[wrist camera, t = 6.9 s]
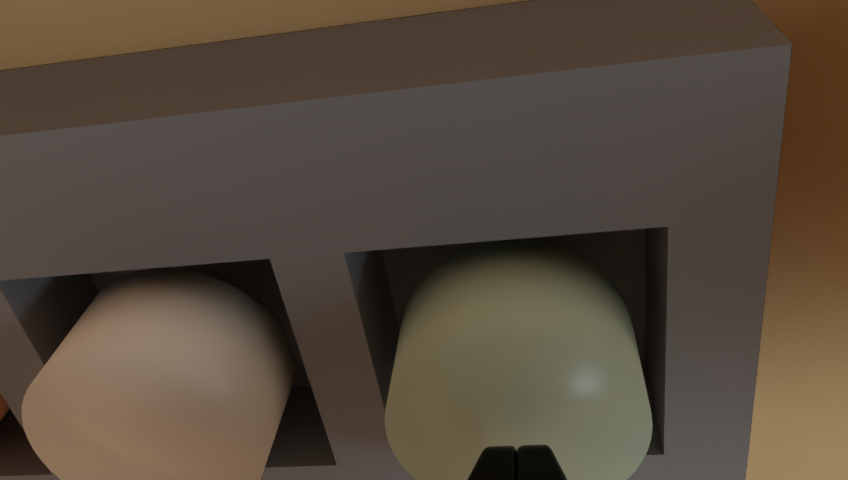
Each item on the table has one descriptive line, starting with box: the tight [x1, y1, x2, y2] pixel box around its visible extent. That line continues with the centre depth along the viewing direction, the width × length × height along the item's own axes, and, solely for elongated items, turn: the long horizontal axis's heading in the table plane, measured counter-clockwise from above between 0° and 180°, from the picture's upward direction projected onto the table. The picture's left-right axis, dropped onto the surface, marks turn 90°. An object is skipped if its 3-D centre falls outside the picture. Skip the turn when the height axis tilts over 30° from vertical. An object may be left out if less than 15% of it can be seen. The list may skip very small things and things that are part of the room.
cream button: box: [22, 268, 295, 480], centre depth 12 cm, size 4×4×2 cm
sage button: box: [385, 240, 653, 480], centre depth 11 cm, size 4×4×2 cm
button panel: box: [0, 0, 792, 480], centre depth 14 cm, size 18×9×3 cm, turn 99°
